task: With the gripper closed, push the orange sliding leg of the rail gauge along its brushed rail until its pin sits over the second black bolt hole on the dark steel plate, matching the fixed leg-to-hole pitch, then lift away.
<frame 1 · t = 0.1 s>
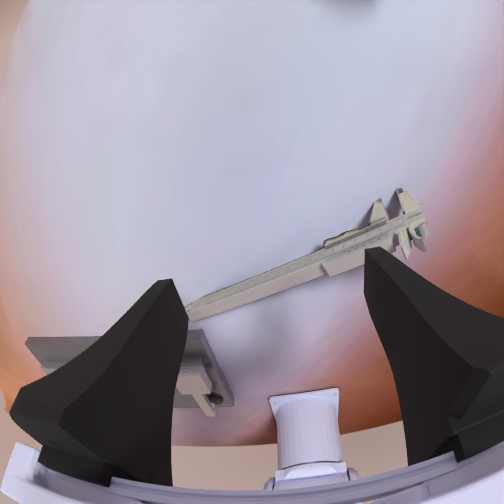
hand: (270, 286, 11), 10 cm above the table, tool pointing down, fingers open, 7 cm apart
caliper: (282, 256, 23), on the table
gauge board: (121, 371, 31), on the table
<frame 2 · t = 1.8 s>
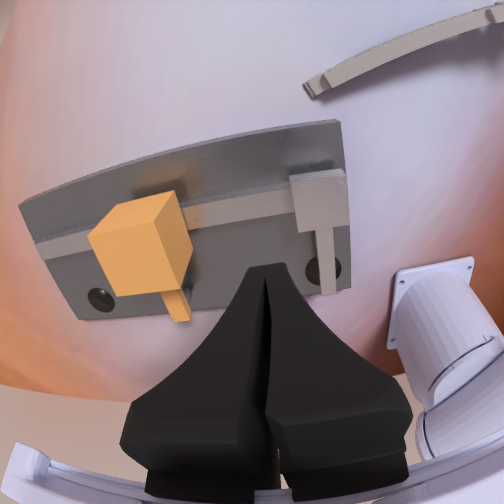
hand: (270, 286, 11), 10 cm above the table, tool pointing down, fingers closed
caliper: (430, 30, 13), on the table
sliding leg: (159, 270, 18), point 4 cm above the table, slide at 10.0 cm
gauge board: (173, 235, 21), on the table
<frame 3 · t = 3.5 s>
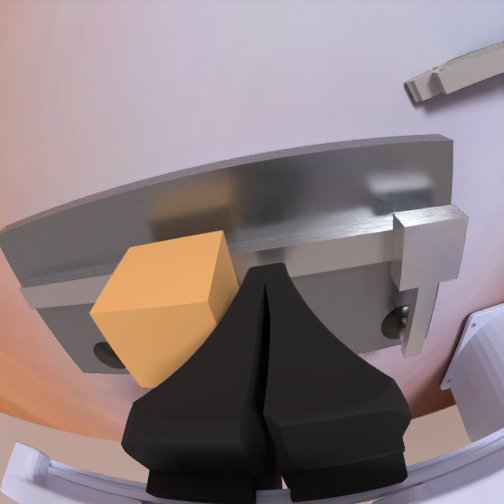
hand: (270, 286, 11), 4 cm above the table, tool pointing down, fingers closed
sliding leg: (199, 343, 13), point 4 cm above the table, slide at 10.1 cm, touching gripper
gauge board: (210, 282, 16), on the table
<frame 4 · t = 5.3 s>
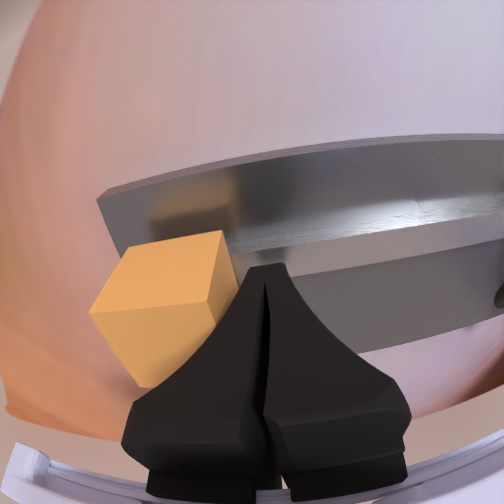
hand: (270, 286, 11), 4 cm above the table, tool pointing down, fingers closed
sliding leg: (198, 343, 13), point 4 cm above the table, slide at 18.6 cm, touching gripper
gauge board: (374, 256, 15), on the table
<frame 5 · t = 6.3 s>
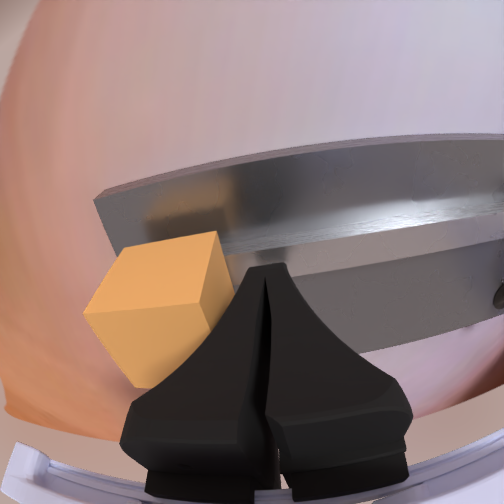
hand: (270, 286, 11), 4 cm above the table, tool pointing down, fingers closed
sliding leg: (193, 344, 12), point 4 cm above the table, slide at 18.6 cm
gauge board: (372, 257, 15), on the table
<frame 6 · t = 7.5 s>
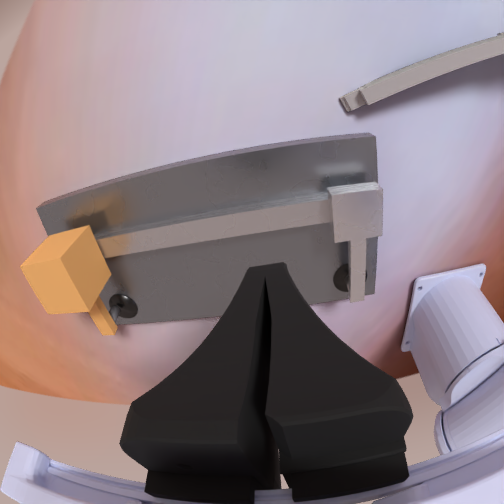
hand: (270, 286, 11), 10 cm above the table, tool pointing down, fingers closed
caliper: (456, 50, 14), on the table
sliding leg: (83, 292, 19), point 4 cm above the table, slide at 18.6 cm
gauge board: (203, 242, 22), on the table
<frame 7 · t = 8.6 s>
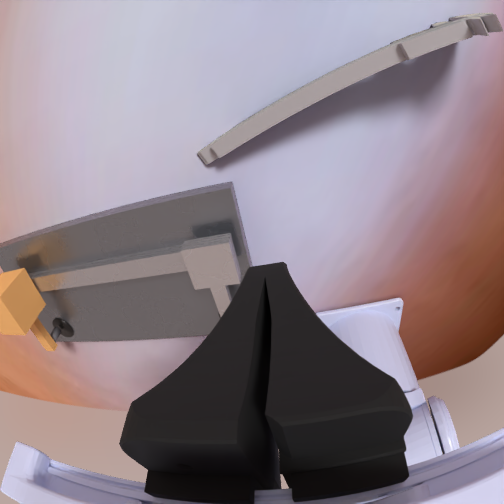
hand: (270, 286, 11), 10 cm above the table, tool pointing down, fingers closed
caliper: (339, 73, 16), on the table
sliding leg: (27, 318, 22), point 4 cm above the table, slide at 18.6 cm
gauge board: (110, 280, 24), on the table
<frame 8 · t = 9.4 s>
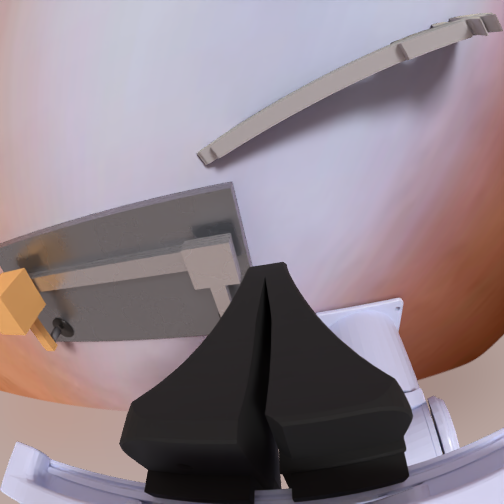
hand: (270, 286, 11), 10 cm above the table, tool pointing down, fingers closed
caliper: (339, 73, 16), on the table
sliding leg: (27, 318, 22), point 4 cm above the table, slide at 18.6 cm
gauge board: (110, 280, 24), on the table
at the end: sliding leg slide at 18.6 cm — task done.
